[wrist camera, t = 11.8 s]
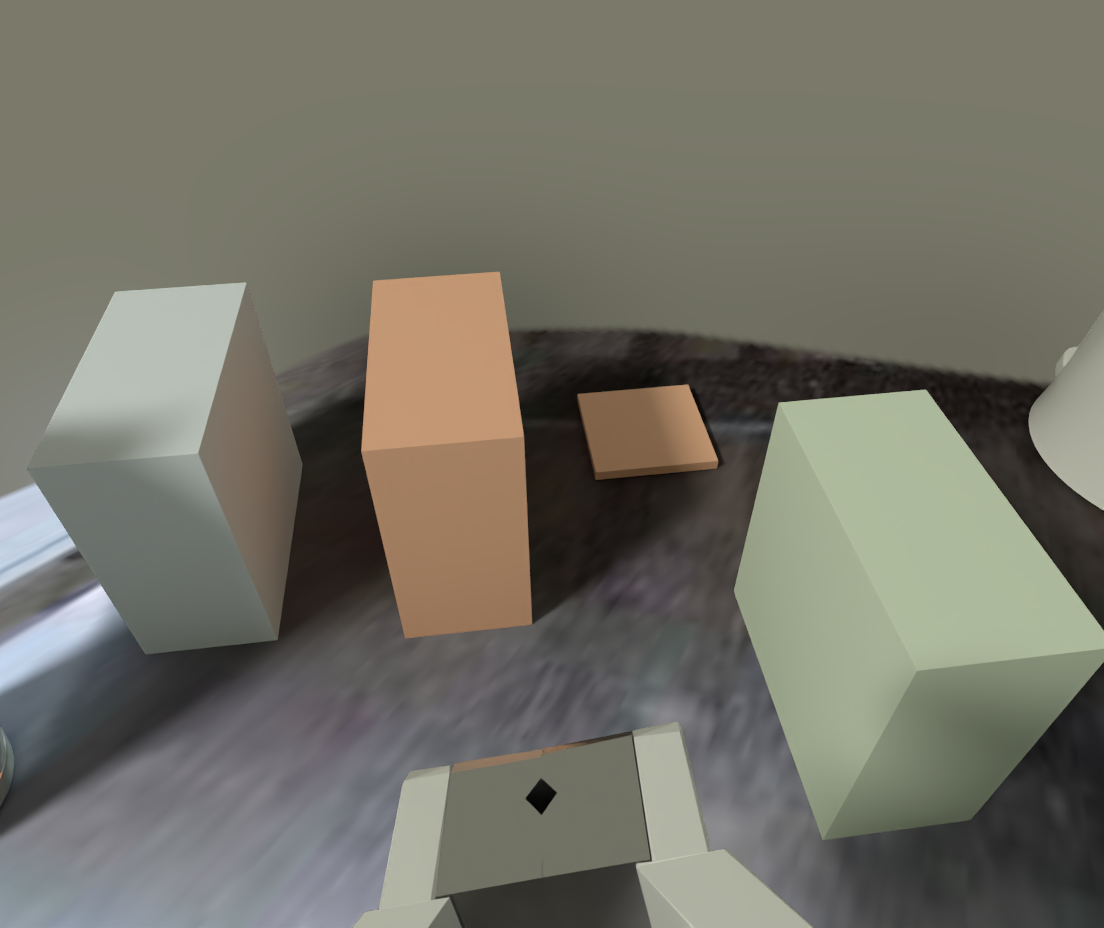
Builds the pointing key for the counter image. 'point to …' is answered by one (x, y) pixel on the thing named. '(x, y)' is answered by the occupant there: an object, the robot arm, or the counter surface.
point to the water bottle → (5, 765)
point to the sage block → (902, 614)
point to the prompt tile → (645, 432)
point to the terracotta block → (447, 454)
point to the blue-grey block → (178, 468)
